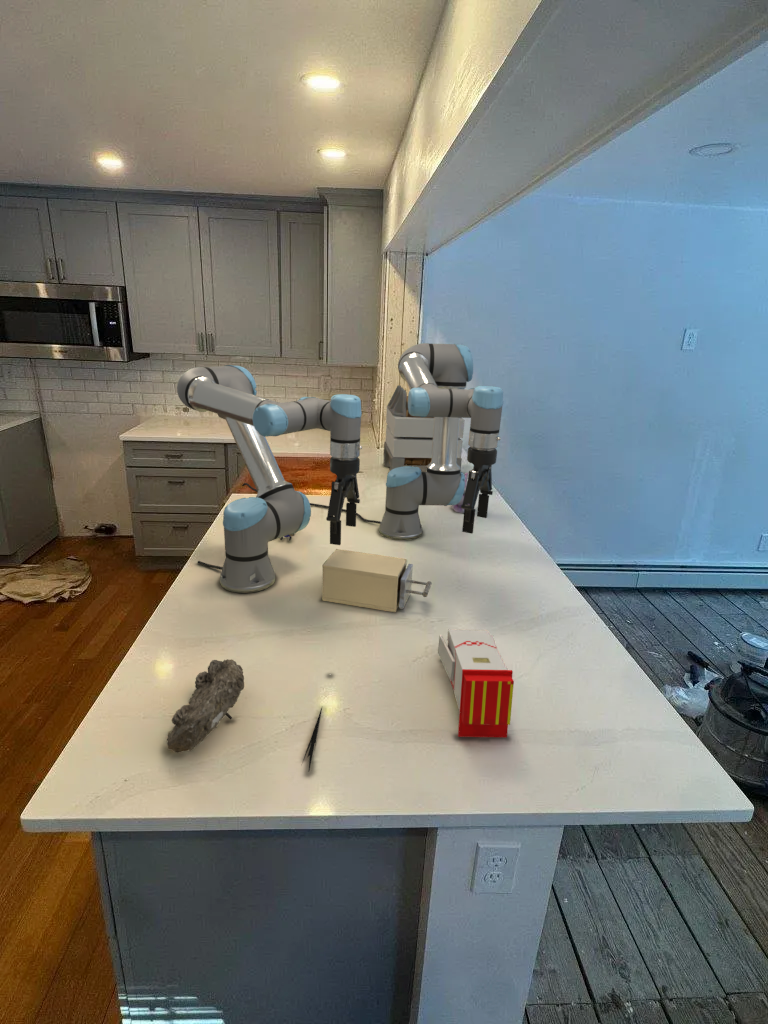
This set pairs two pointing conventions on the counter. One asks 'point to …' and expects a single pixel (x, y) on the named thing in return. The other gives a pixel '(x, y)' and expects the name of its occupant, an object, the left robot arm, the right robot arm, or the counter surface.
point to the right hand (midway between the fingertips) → (474, 524)
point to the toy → (478, 682)
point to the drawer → (409, 586)
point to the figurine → (458, 506)
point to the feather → (313, 740)
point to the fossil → (206, 705)
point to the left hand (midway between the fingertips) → (343, 534)
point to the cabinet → (362, 579)
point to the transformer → (410, 435)
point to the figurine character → (288, 536)
